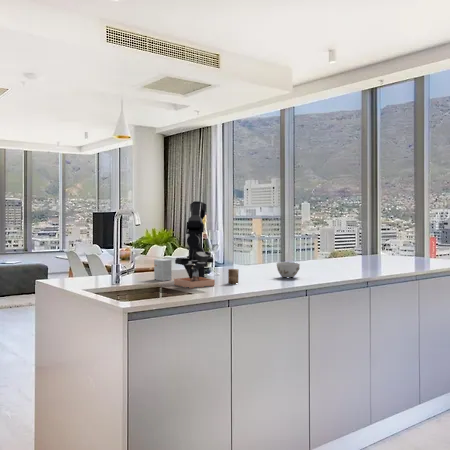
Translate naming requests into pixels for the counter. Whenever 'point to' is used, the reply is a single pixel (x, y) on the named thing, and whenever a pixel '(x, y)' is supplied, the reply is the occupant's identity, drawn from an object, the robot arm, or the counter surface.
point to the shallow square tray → (194, 282)
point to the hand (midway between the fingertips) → (194, 278)
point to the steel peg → (195, 275)
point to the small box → (162, 269)
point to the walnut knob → (233, 276)
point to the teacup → (288, 269)
